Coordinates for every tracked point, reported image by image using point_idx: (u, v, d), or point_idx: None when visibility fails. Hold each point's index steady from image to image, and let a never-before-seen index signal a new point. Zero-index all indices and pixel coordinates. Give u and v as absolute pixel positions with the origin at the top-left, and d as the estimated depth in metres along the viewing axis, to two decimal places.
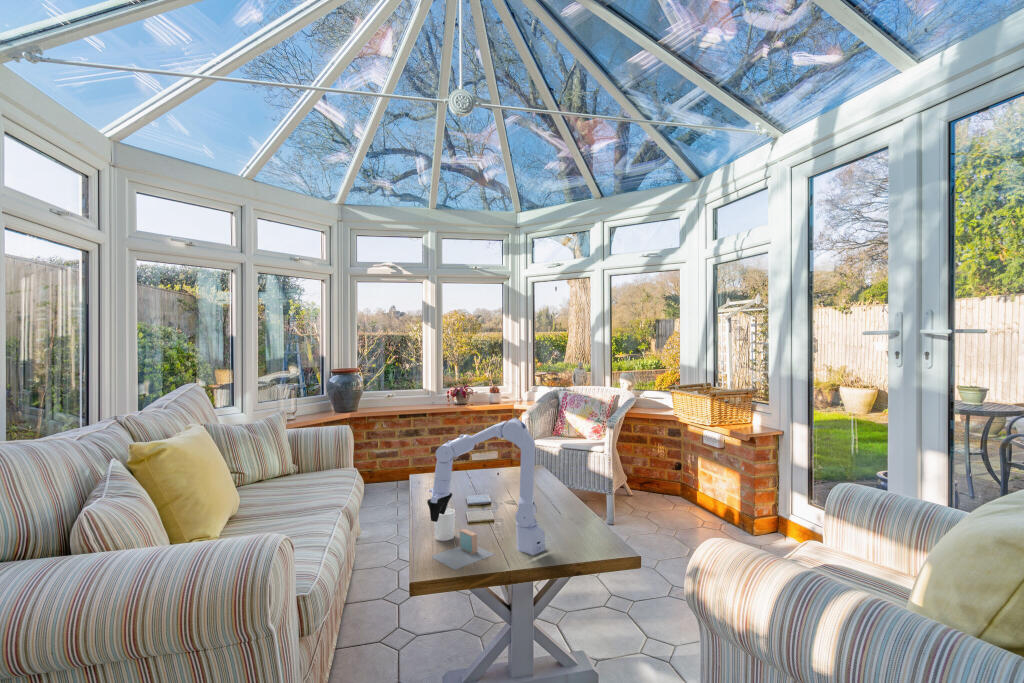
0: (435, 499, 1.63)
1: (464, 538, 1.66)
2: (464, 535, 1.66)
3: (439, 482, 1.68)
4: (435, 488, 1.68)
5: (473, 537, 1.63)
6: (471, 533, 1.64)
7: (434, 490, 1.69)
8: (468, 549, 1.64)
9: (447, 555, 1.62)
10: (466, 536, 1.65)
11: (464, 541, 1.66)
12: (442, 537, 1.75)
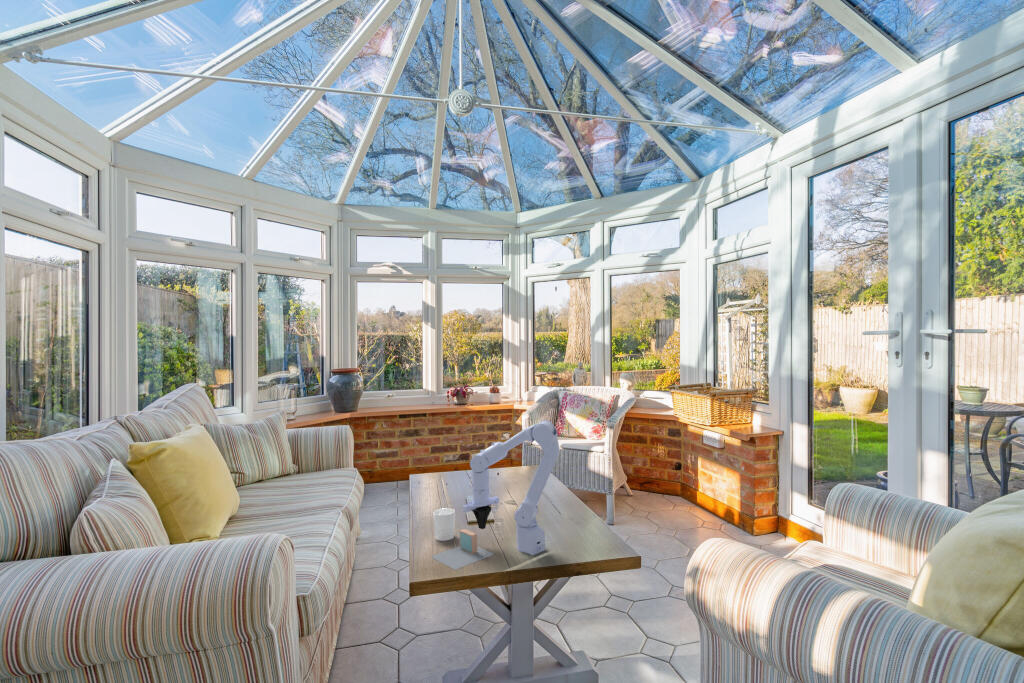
0: (465, 508, 1.65)
1: (464, 538, 1.66)
2: (464, 535, 1.66)
3: (474, 492, 1.68)
4: (473, 498, 1.69)
5: (473, 537, 1.63)
6: (471, 533, 1.64)
7: (473, 500, 1.70)
8: (468, 549, 1.64)
9: (447, 555, 1.62)
10: (466, 536, 1.65)
11: (464, 541, 1.66)
12: (442, 537, 1.75)
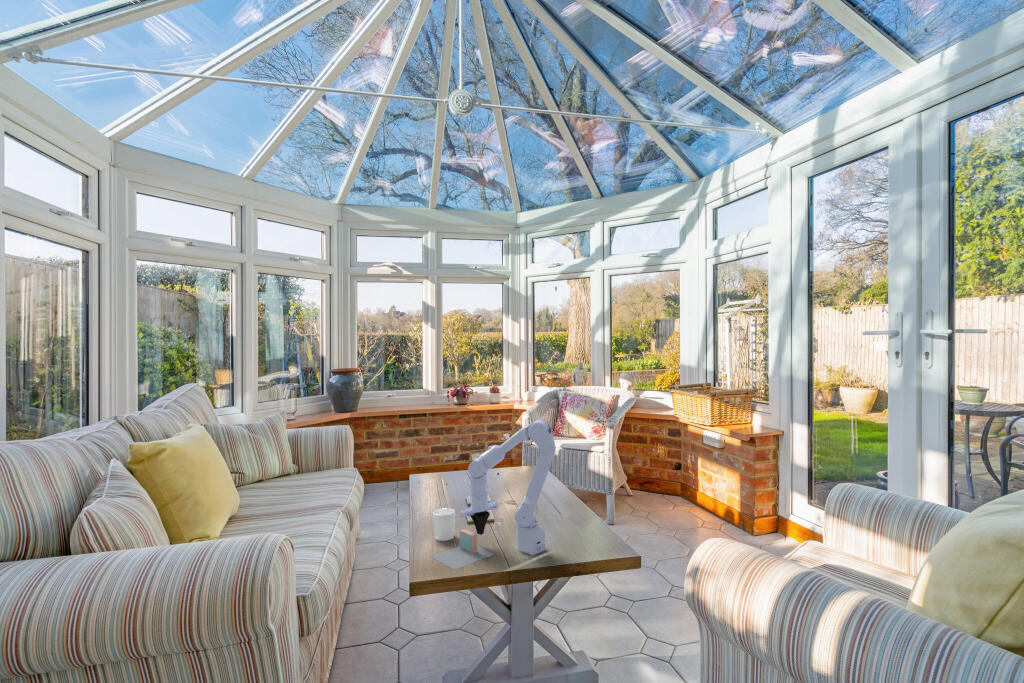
0: (463, 514, 1.64)
1: (464, 538, 1.66)
2: (464, 535, 1.66)
3: (472, 497, 1.68)
4: (471, 503, 1.69)
5: (473, 537, 1.63)
6: (471, 533, 1.64)
7: (471, 505, 1.69)
8: (468, 549, 1.64)
9: (447, 555, 1.62)
10: (466, 536, 1.65)
11: (464, 541, 1.66)
12: (442, 537, 1.75)
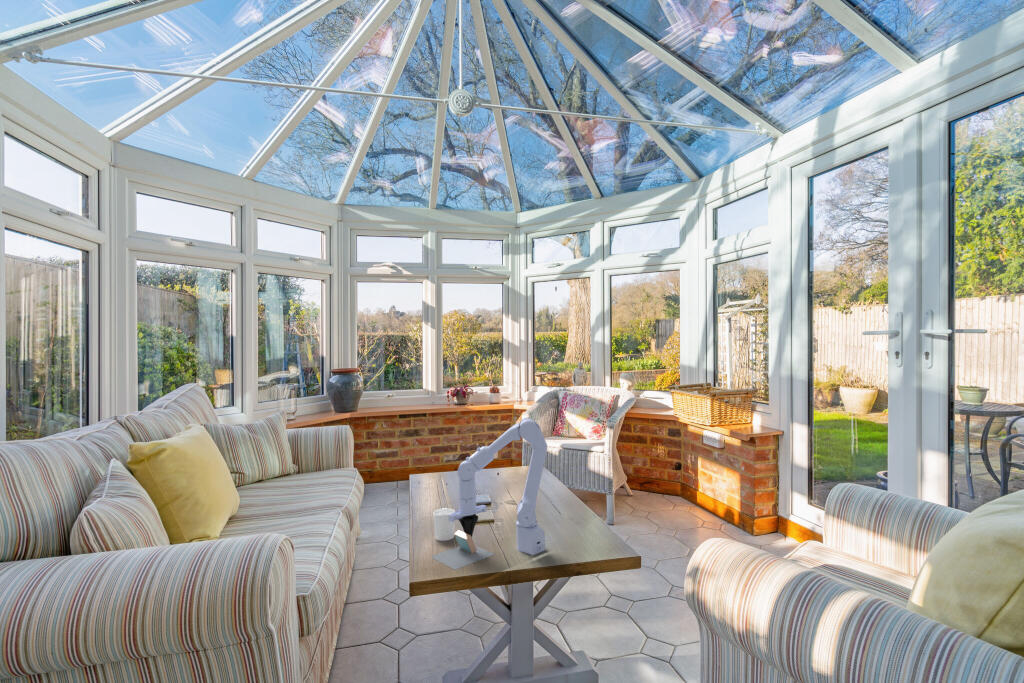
0: (451, 517, 1.61)
1: (460, 540, 1.64)
2: (460, 538, 1.64)
3: (460, 500, 1.64)
4: (459, 507, 1.65)
5: (468, 540, 1.61)
6: (465, 535, 1.63)
7: (459, 509, 1.66)
8: (467, 550, 1.64)
9: (447, 555, 1.62)
10: (461, 539, 1.63)
11: (461, 543, 1.65)
12: (442, 537, 1.75)
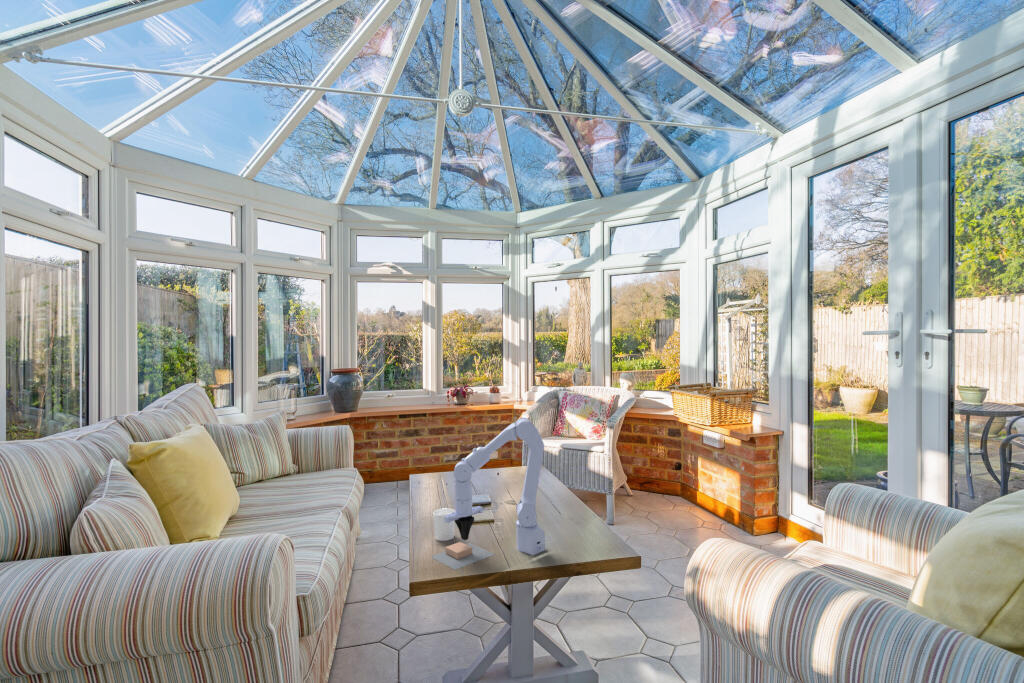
0: (446, 519, 1.60)
1: None
2: None
3: (456, 502, 1.63)
4: (455, 508, 1.64)
5: (459, 556, 1.59)
6: (454, 554, 1.60)
7: None
8: None
9: (447, 555, 1.62)
10: None
11: None
12: (442, 537, 1.75)
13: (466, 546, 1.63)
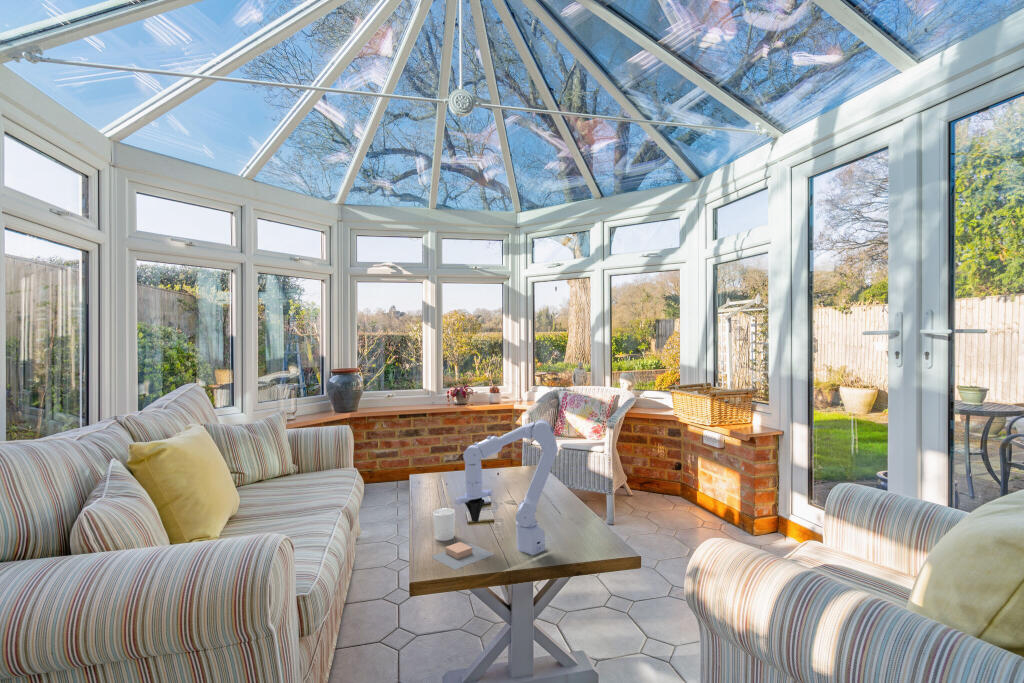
0: (457, 501, 1.63)
1: None
2: None
3: (466, 484, 1.66)
4: None
5: (459, 556, 1.59)
6: (454, 554, 1.60)
7: None
8: None
9: (447, 555, 1.62)
10: None
11: None
12: (442, 537, 1.75)
13: (466, 546, 1.63)
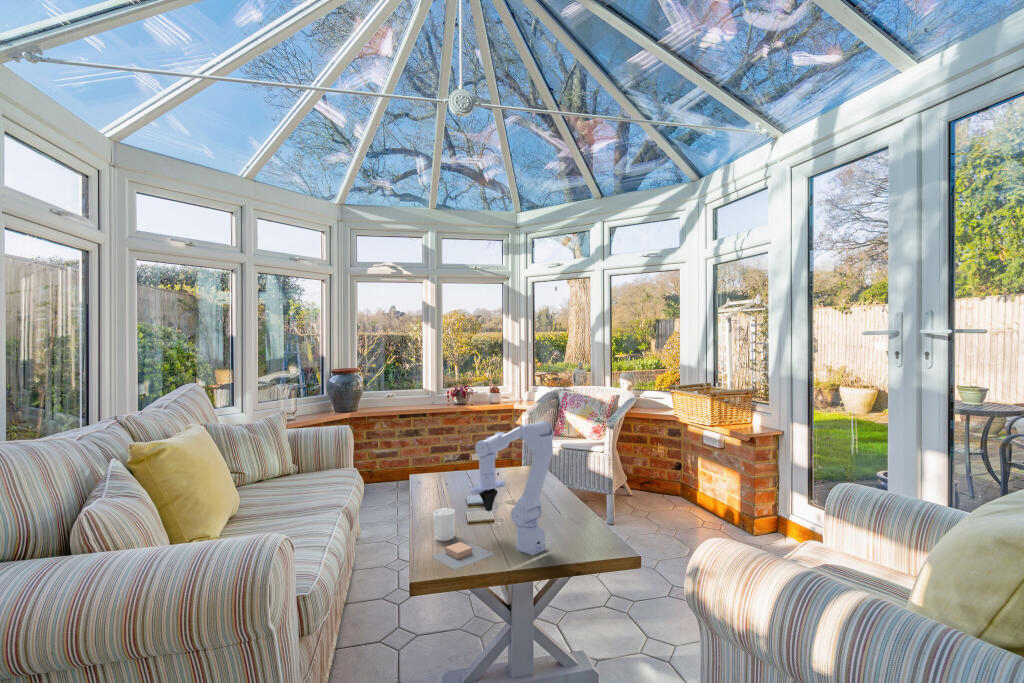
0: (472, 491, 1.73)
1: None
2: None
3: (481, 476, 1.77)
4: (480, 482, 1.78)
5: (459, 556, 1.59)
6: (454, 554, 1.60)
7: (480, 483, 1.78)
8: None
9: (447, 555, 1.62)
10: None
11: None
12: (442, 537, 1.75)
13: (466, 546, 1.63)
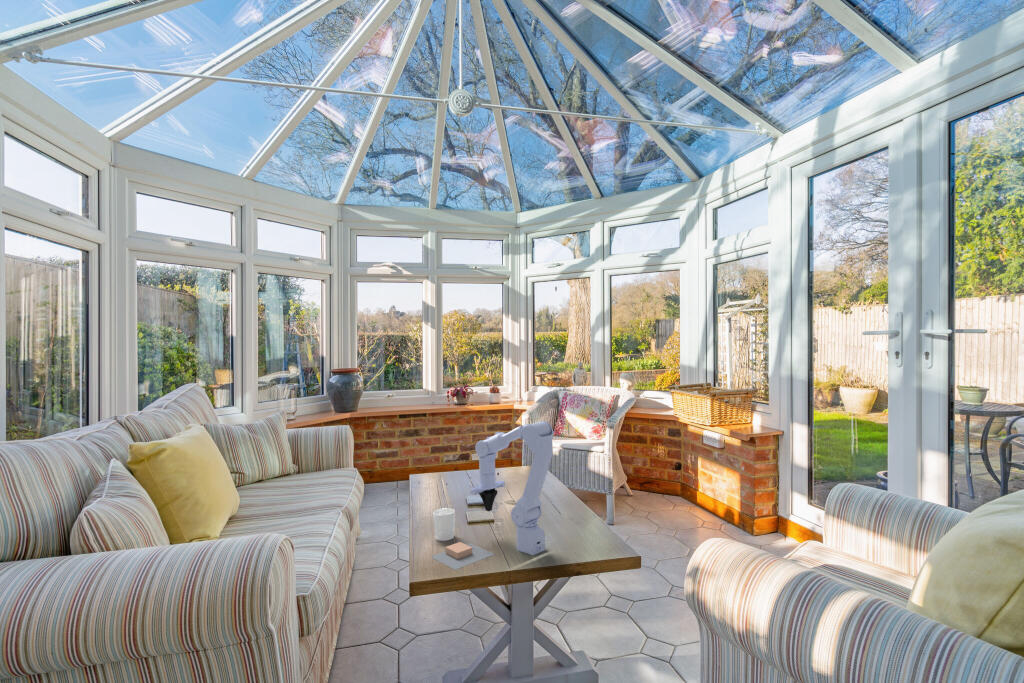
0: (472, 491, 1.73)
1: None
2: None
3: (481, 476, 1.77)
4: (480, 482, 1.78)
5: (459, 556, 1.59)
6: (454, 554, 1.60)
7: (480, 483, 1.78)
8: None
9: (447, 555, 1.62)
10: None
11: None
12: (442, 537, 1.75)
13: (466, 546, 1.63)
